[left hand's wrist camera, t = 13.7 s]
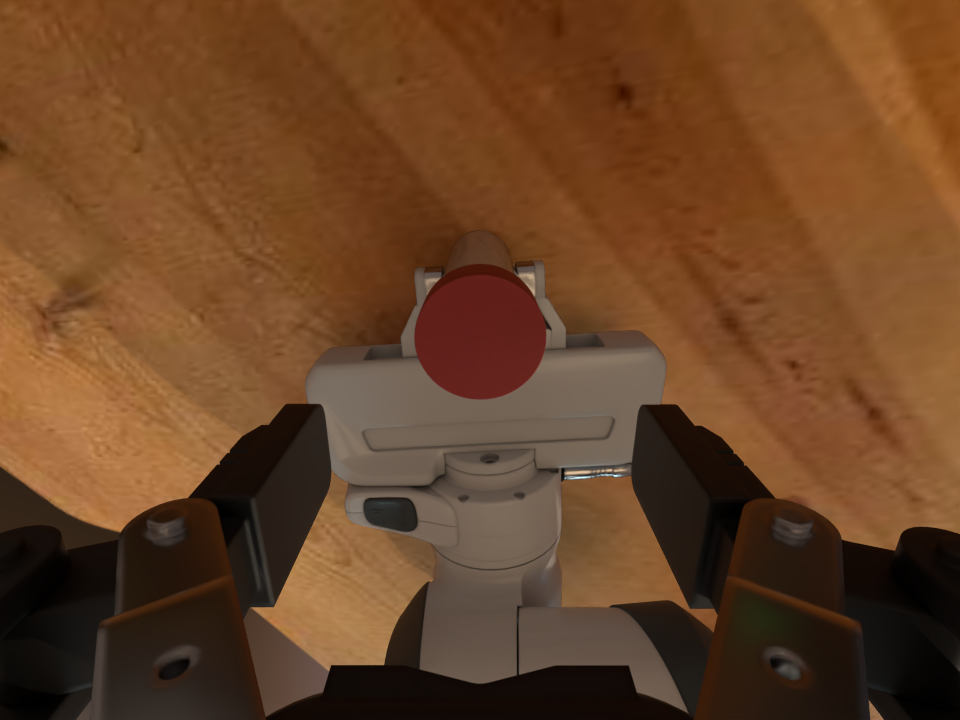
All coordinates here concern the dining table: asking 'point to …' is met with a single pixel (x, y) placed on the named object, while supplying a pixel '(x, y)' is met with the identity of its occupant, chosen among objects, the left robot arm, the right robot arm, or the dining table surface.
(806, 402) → the dining table surface
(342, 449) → the right robot arm
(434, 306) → the lid
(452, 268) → the bottle
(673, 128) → the dining table surface
